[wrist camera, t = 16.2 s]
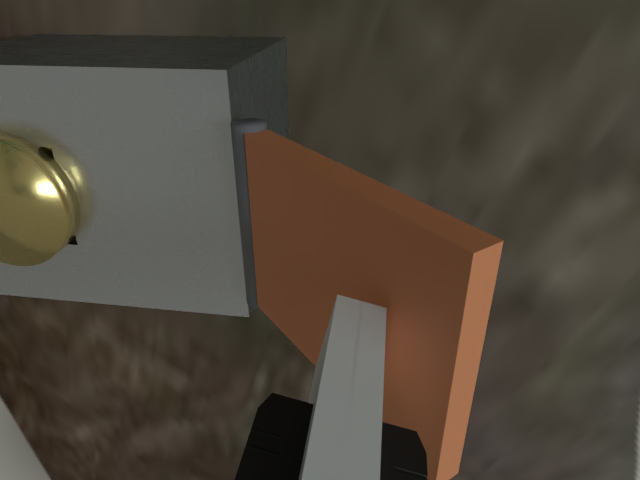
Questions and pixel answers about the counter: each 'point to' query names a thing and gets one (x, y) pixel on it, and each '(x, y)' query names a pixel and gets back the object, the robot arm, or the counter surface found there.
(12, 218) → the brass pin
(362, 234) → the orange tab
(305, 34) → the counter surface
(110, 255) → the block
